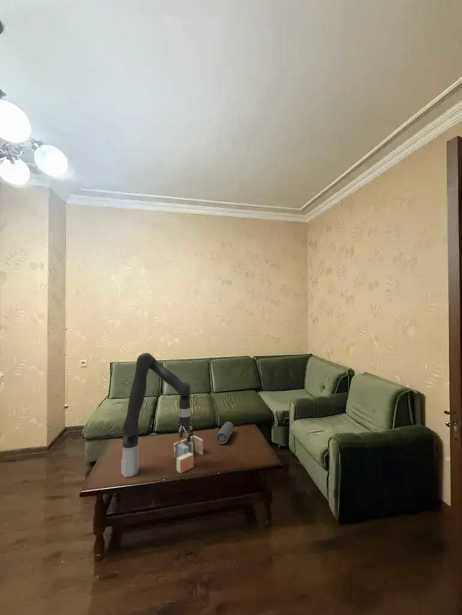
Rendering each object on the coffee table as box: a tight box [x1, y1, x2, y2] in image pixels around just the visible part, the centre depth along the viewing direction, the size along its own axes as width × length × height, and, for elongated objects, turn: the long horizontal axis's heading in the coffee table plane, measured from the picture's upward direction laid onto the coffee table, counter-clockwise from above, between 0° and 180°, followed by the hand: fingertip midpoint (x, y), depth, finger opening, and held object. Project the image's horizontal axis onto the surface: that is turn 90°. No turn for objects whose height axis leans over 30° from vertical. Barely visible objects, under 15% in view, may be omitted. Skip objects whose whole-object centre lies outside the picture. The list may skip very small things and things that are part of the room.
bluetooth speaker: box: [216, 421, 235, 445], centre depth 216 cm, size 23×9×10 cm, turn 167°
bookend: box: [186, 441, 194, 455], centre depth 190 cm, size 4×7×9 cm, turn 44°
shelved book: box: [177, 443, 189, 457], centre depth 186 cm, size 4×8×8 cm, turn 44°
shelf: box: [173, 434, 204, 459], centre depth 190 cm, size 18×10×10 cm, turn 134°
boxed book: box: [176, 452, 195, 474], centre depth 174 cm, size 10×4×8 cm, turn 134°
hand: (185, 440), depth 175 cm, fingers open, 8 cm apart
